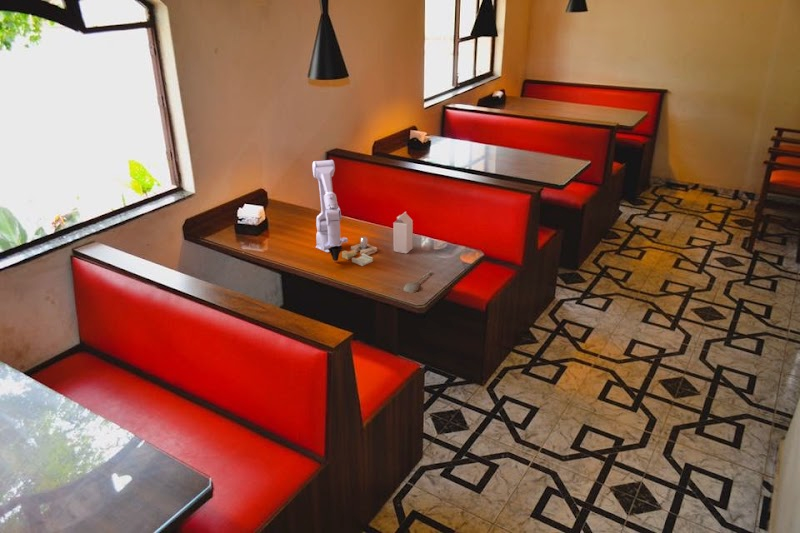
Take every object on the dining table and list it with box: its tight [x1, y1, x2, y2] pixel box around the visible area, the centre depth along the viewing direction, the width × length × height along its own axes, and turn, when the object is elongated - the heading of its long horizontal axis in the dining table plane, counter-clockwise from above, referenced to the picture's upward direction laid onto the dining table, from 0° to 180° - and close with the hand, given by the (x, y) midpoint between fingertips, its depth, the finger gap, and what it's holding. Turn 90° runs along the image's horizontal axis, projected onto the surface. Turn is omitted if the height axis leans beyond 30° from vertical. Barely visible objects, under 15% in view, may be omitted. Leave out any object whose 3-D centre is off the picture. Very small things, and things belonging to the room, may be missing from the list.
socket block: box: [350, 242, 378, 256], centre depth 307 cm, size 10×8×2 cm
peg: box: [360, 236, 368, 250], centre depth 306 cm, size 3×3×7 cm
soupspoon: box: [403, 270, 434, 294], centre depth 276 cm, size 22×3×7 cm
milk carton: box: [392, 211, 414, 254], centre depth 304 cm, size 7×7×19 cm
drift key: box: [341, 250, 358, 261], centre depth 301 cm, size 4×6×3 cm, turn 136°
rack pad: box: [351, 254, 374, 267], centre depth 296 cm, size 7×7×2 cm
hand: (335, 260), depth 295 cm, fingers closed
